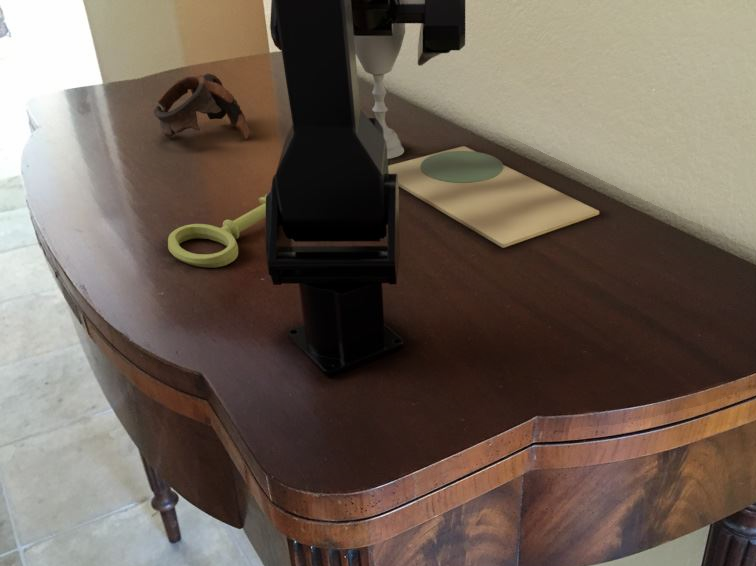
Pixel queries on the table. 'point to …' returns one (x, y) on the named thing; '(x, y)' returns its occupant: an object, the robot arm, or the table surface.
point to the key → (214, 238)
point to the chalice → (381, 75)
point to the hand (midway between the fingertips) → (377, 61)
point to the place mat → (488, 195)
